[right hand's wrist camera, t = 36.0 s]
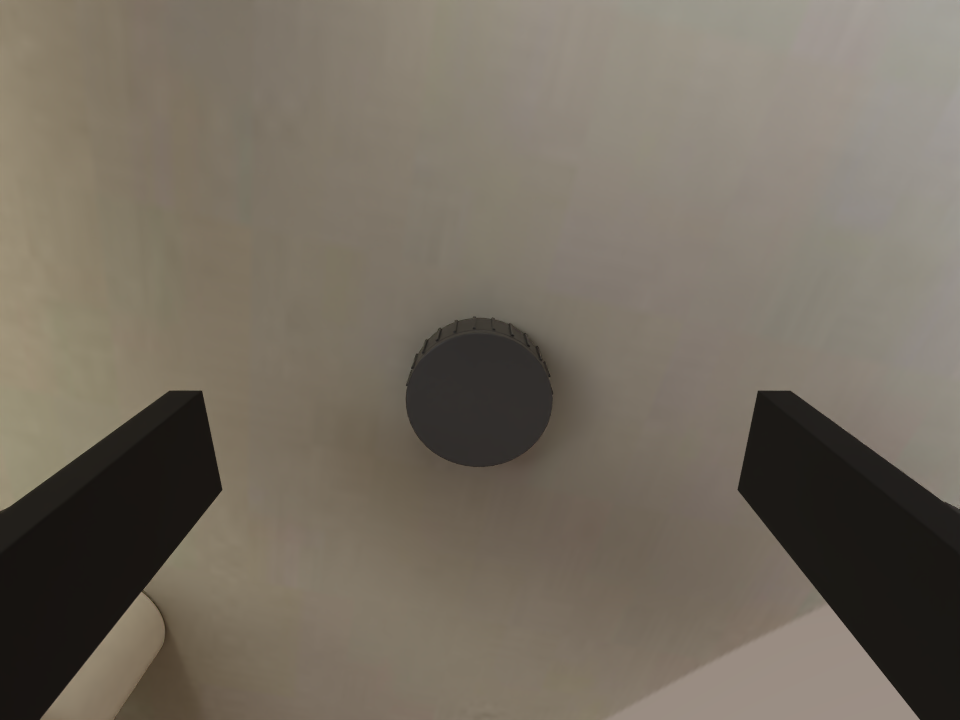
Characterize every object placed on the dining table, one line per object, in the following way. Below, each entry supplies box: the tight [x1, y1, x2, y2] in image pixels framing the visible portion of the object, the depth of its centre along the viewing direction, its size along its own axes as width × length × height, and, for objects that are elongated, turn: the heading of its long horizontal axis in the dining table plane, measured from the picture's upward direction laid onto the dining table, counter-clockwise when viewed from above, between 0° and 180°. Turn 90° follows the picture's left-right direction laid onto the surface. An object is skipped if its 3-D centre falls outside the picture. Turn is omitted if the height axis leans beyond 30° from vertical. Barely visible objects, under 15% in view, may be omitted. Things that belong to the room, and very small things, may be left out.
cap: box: [406, 317, 553, 467], centre depth 16 cm, size 4×4×2 cm
